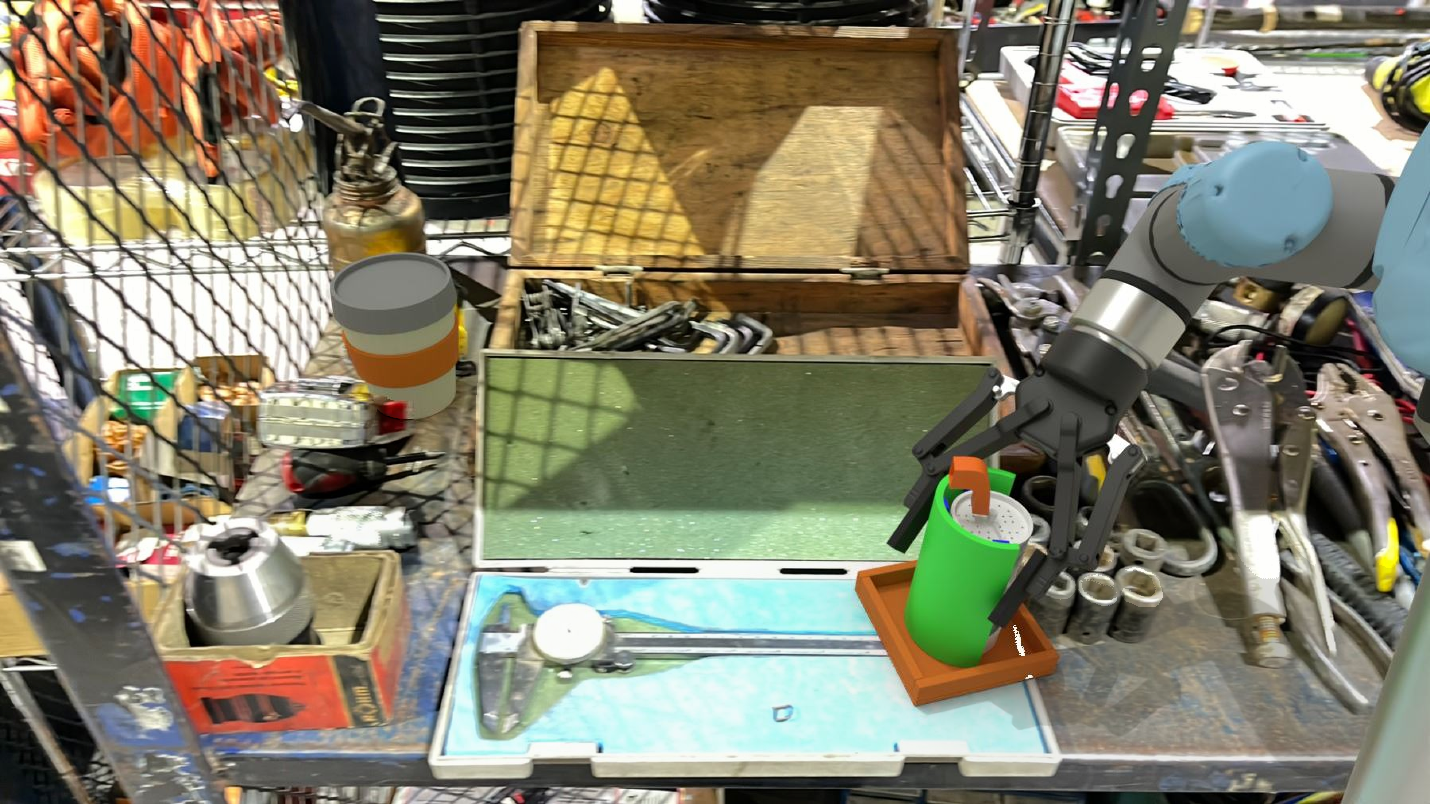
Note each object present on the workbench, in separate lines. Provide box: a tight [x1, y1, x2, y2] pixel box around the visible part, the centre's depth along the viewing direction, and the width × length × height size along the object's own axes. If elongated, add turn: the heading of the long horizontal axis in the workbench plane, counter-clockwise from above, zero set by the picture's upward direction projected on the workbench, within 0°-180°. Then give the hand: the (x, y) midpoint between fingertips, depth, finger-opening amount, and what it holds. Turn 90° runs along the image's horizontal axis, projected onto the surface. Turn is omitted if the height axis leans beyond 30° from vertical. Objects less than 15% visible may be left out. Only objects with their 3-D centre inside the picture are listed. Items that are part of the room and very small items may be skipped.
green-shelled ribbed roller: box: [904, 457, 1034, 668], centre depth 73 cm, size 9×8×18 cm
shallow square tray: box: [854, 559, 1061, 707], centre depth 78 cm, size 13×13×2 cm
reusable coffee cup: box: [329, 251, 460, 421], centre depth 99 cm, size 13×13×15 cm
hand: (943, 584), depth 72 cm, fingers open, 9 cm apart
